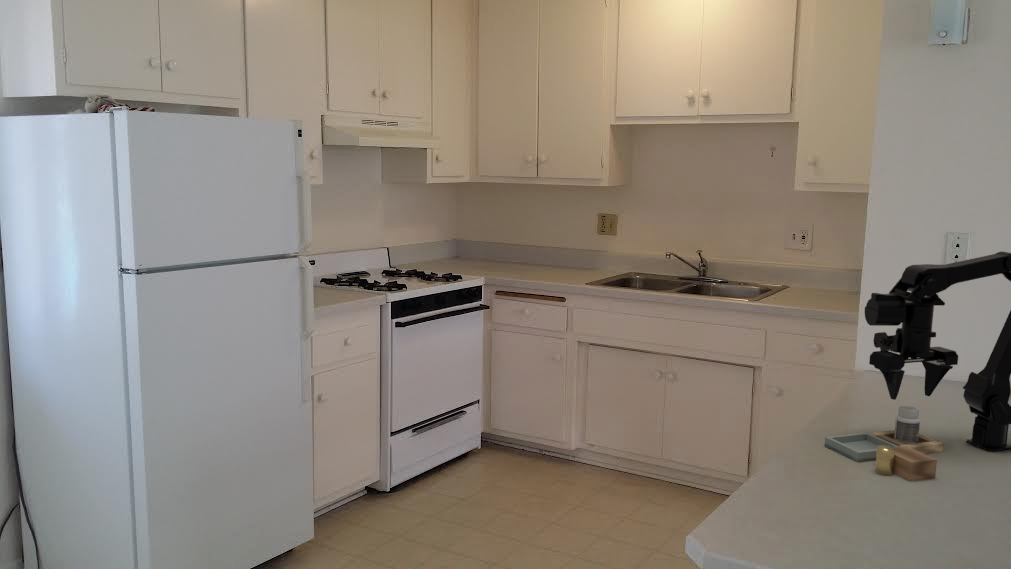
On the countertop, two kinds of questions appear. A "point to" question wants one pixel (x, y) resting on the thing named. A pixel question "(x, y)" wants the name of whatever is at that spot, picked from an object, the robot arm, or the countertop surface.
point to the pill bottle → (907, 425)
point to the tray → (856, 445)
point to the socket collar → (923, 445)
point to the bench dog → (884, 460)
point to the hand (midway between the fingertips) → (910, 397)
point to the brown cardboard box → (913, 464)
